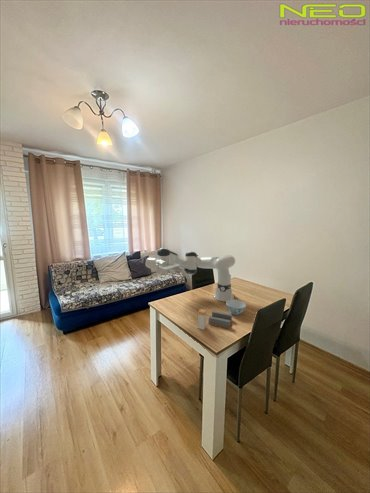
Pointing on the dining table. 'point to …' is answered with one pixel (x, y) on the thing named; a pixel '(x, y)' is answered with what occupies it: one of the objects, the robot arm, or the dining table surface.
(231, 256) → the robot arm
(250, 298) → the dining table surface
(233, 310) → the chinaware
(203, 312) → the plug post
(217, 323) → the duct block
